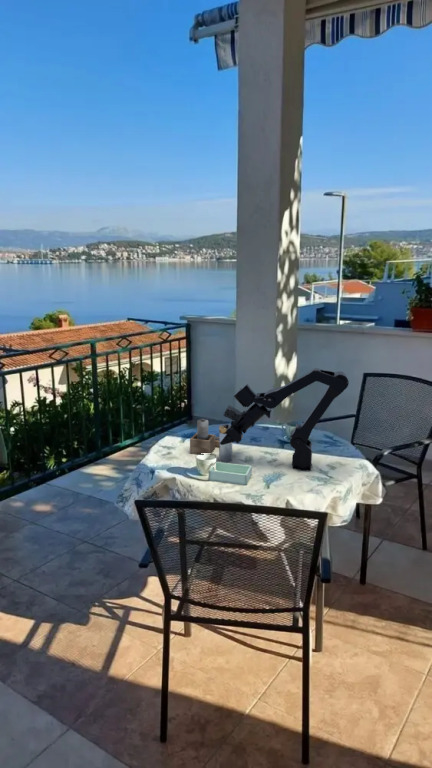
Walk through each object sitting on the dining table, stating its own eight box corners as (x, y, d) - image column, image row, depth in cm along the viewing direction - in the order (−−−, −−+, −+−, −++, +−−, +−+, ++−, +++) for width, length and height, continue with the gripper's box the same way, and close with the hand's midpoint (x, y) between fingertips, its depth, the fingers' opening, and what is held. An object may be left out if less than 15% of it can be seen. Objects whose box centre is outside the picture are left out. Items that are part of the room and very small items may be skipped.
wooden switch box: (227, 443, 208) (227, 435, 207) (223, 448, 202) (223, 440, 201) (208, 441, 210) (208, 433, 209) (204, 446, 204) (204, 438, 203)
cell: (233, 458, 191) (234, 423, 188) (230, 462, 187) (231, 427, 183) (220, 456, 193) (221, 422, 190) (217, 461, 188) (217, 426, 185)
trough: (251, 475, 175) (251, 466, 175) (246, 485, 167) (246, 475, 166) (215, 470, 179) (215, 461, 178) (208, 480, 171) (208, 470, 170)
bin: (214, 449, 201) (215, 417, 198) (209, 455, 193) (209, 423, 190) (196, 446, 203) (196, 415, 200) (189, 453, 195) (189, 421, 192)
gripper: (240, 394, 192) (212, 419, 197) (232, 406, 175) (201, 433, 179) (260, 415, 193) (231, 439, 197) (254, 429, 175) (223, 456, 179)
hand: (222, 441), depth 188 cm, fingers closed on cell, 5 cm apart
